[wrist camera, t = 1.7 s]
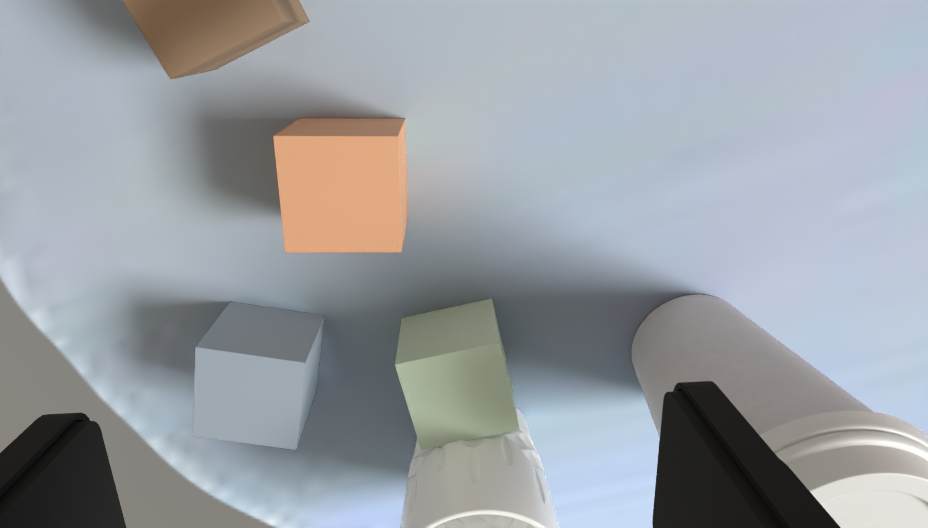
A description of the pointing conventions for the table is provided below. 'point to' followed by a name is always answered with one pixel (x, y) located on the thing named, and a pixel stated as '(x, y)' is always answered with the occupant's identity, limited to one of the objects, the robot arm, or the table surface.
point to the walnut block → (211, 29)
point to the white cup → (479, 484)
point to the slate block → (257, 375)
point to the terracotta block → (342, 184)
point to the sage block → (455, 374)
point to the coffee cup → (789, 411)
